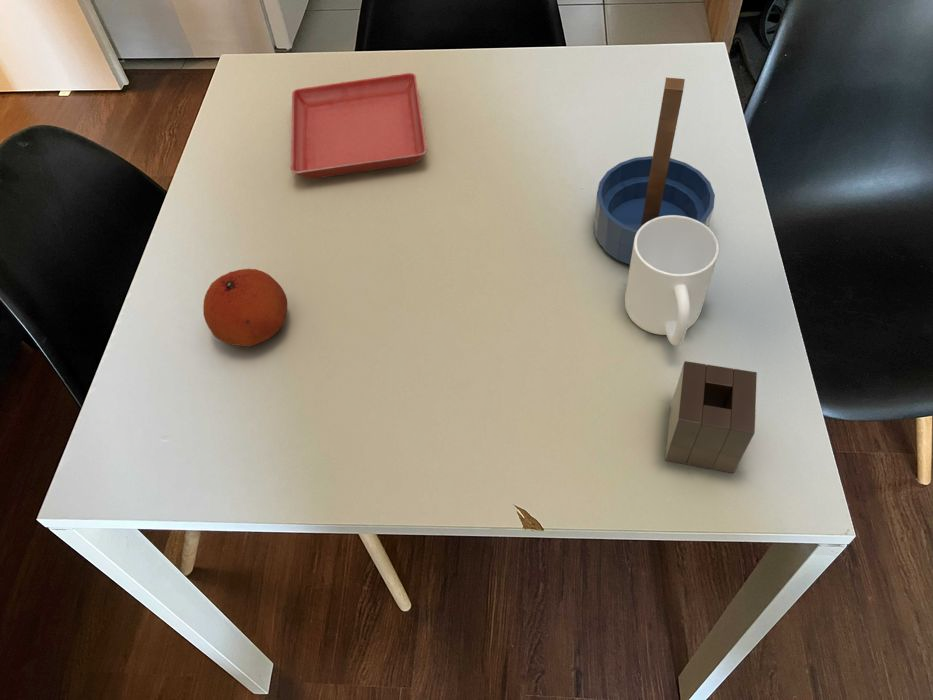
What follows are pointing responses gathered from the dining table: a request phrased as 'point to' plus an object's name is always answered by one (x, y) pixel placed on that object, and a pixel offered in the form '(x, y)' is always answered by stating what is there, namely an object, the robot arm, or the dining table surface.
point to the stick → (663, 147)
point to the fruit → (244, 307)
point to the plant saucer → (356, 126)
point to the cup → (670, 275)
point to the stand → (711, 416)
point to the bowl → (627, 196)
